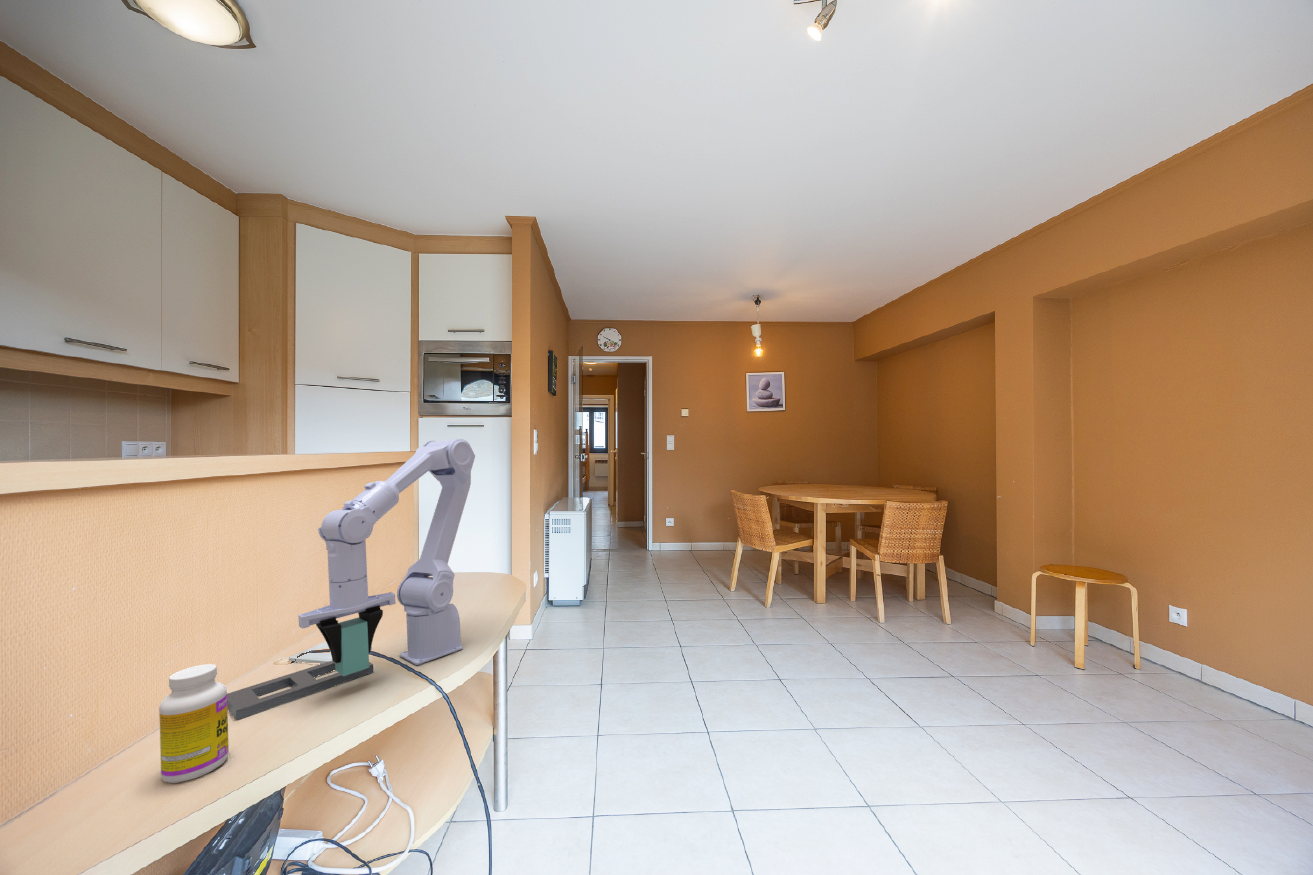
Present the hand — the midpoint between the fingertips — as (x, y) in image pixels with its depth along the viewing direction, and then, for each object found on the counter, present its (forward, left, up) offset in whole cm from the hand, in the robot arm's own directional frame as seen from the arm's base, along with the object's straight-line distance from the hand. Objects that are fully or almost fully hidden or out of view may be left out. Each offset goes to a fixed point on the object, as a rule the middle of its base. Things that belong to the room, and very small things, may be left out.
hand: (351, 656), depth 87 cm
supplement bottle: (+21, +7, -6) cm, 23 cm away
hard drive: (-3, -21, -7) cm, 22 cm away
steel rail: (+5, -9, -6) cm, 12 cm away
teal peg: (0, 0, -2) cm, 2 cm away
